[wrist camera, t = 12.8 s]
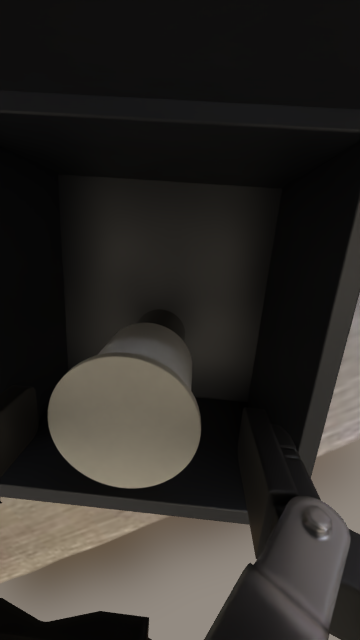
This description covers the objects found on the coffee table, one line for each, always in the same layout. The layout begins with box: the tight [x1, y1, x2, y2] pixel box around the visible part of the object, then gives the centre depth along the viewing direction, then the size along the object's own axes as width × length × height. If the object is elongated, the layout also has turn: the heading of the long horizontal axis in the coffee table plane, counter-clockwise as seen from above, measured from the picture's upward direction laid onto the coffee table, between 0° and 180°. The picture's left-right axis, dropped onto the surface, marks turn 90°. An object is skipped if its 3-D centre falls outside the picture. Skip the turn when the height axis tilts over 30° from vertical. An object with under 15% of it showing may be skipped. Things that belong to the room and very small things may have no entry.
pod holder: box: [137, 309, 185, 341], centre depth 17 cm, size 4×4×5 cm
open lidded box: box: [0, 90, 360, 524], centre depth 15 cm, size 17×16×10 cm
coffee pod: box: [48, 323, 201, 488], centre depth 12 cm, size 6×6×5 cm
